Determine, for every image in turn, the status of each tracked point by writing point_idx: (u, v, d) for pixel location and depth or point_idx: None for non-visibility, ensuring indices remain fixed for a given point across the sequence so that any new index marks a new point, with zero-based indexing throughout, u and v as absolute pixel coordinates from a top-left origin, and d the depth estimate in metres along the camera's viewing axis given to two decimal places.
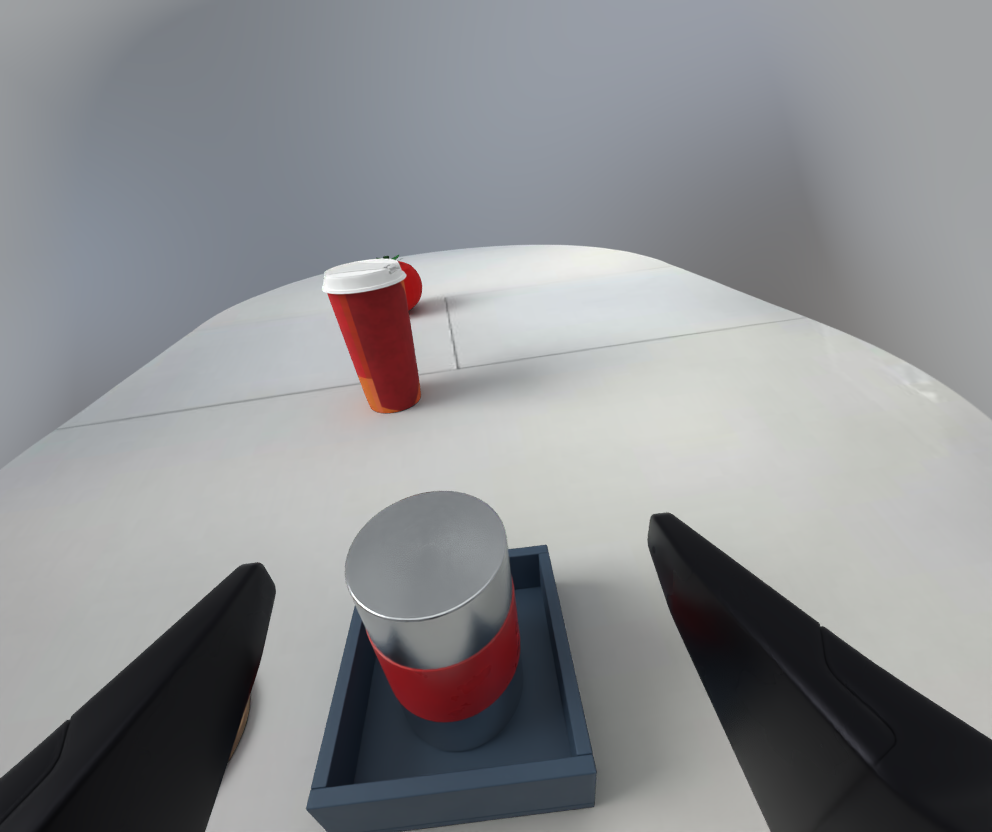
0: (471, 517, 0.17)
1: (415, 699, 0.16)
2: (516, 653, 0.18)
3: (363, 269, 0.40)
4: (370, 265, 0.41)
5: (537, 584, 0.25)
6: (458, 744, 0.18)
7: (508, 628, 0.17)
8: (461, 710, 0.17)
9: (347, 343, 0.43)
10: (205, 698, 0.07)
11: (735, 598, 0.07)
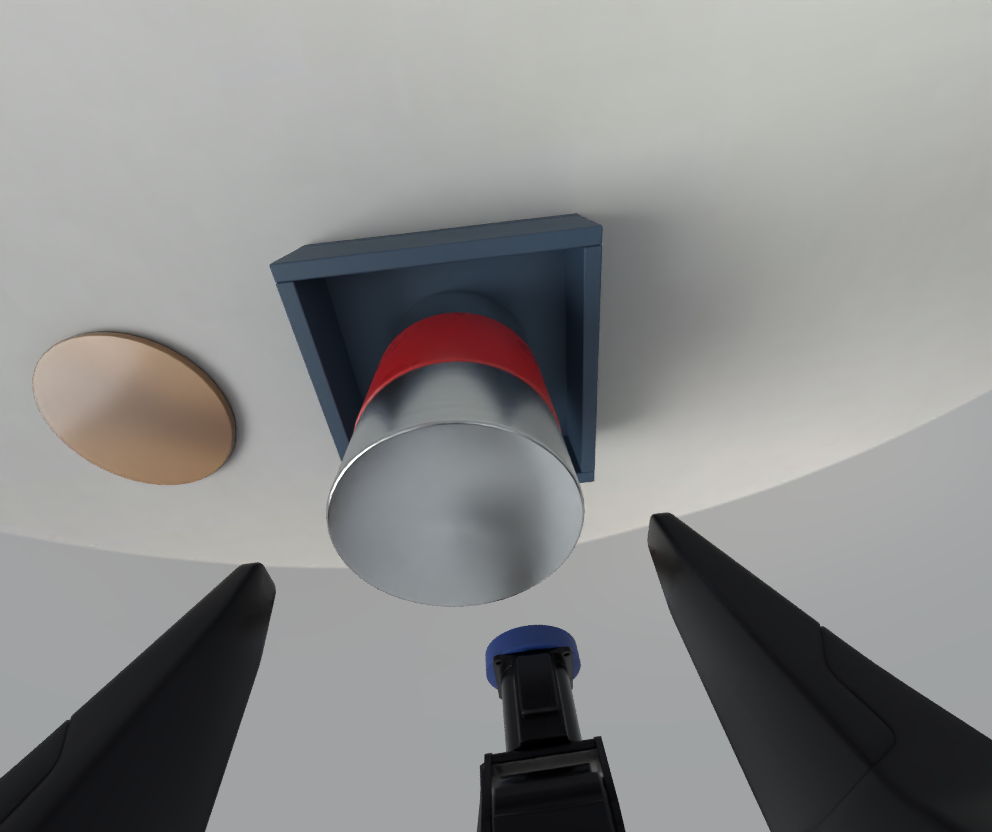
0: (527, 484, 0.10)
1: None
2: None
3: None
4: None
5: None
6: None
7: None
8: None
9: None
10: (205, 698, 0.07)
11: (735, 598, 0.07)
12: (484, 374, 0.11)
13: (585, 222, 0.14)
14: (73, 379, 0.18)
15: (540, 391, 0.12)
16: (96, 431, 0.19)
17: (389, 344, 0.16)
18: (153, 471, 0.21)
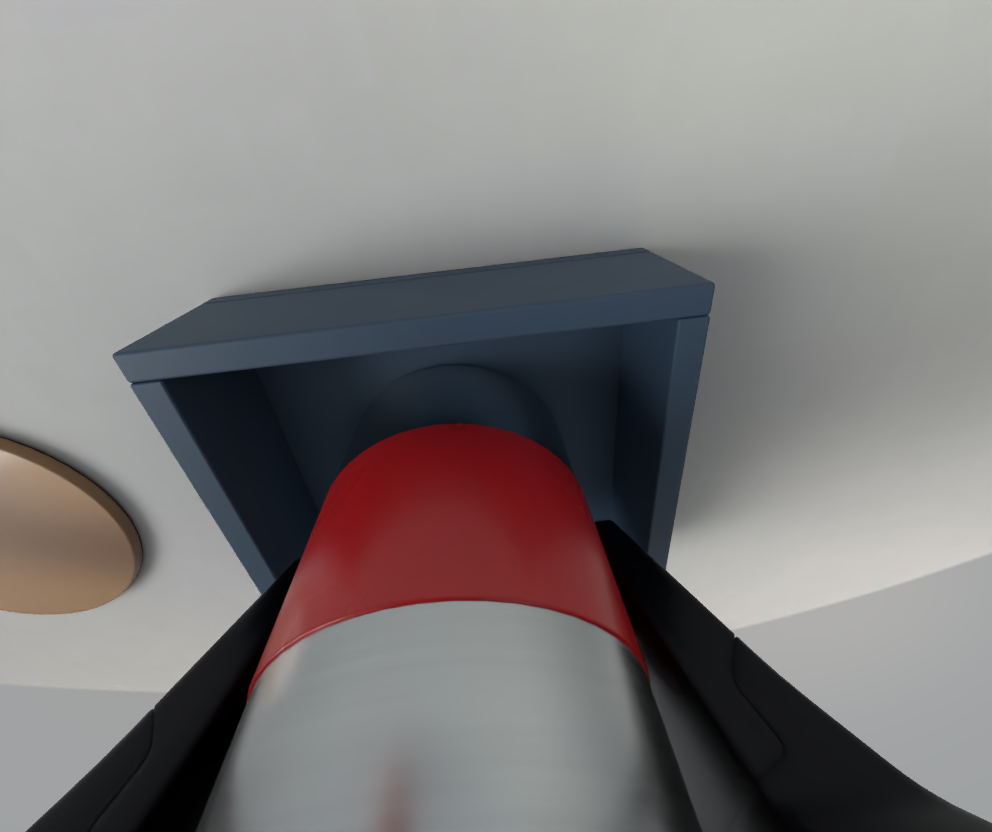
0: None
1: None
2: None
3: None
4: None
5: None
6: None
7: None
8: None
9: None
10: None
11: (656, 608, 0.07)
12: (512, 655, 0.05)
13: (674, 271, 0.08)
14: None
15: (619, 632, 0.06)
16: None
17: (343, 462, 0.10)
18: (28, 599, 0.15)
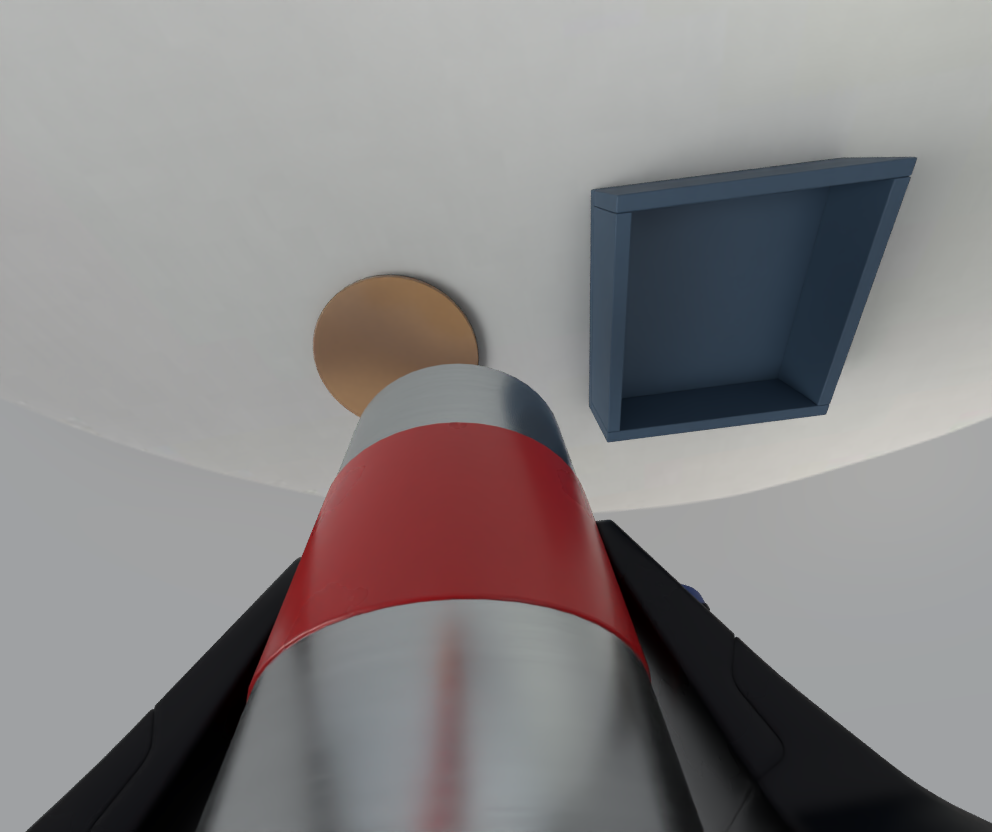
0: None
1: None
2: None
3: None
4: None
5: None
6: None
7: None
8: None
9: None
10: None
11: (656, 608, 0.07)
12: (512, 655, 0.05)
13: (885, 158, 0.16)
14: (353, 320, 0.20)
15: (620, 631, 0.06)
16: (356, 373, 0.21)
17: (344, 461, 0.10)
18: None
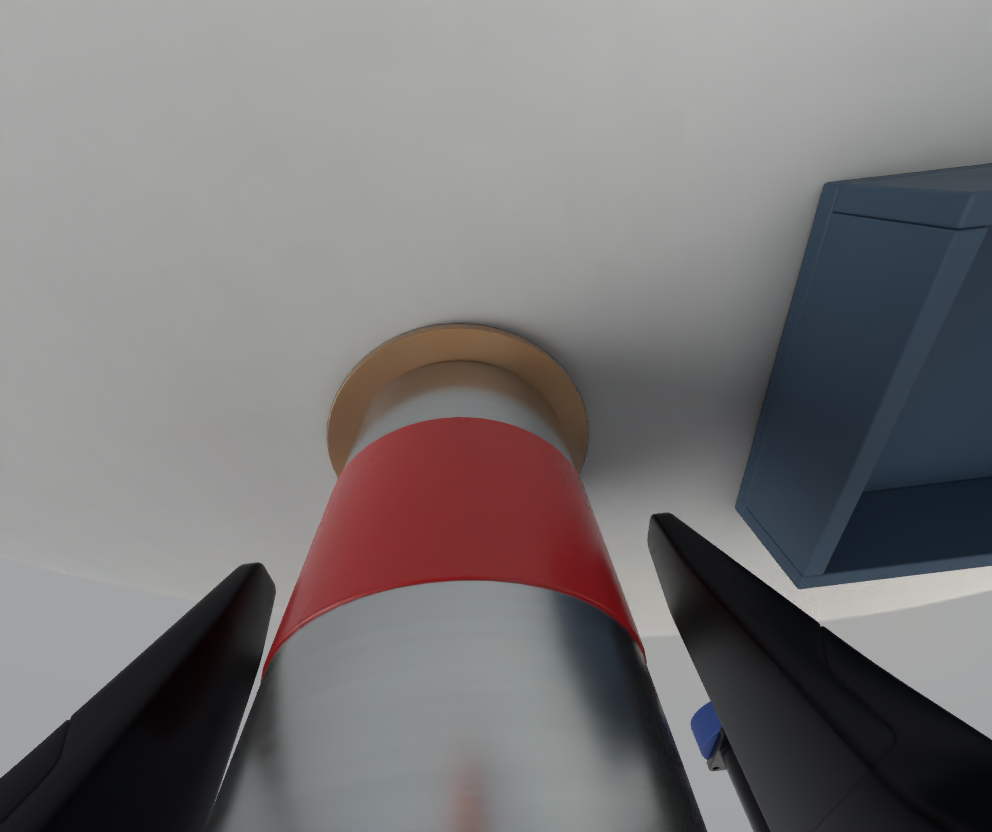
0: None
1: None
2: None
3: None
4: None
5: None
6: None
7: None
8: None
9: None
10: (205, 698, 0.07)
11: (735, 598, 0.07)
12: (514, 629, 0.05)
13: None
14: None
15: (616, 613, 0.06)
16: None
17: (350, 455, 0.10)
18: None
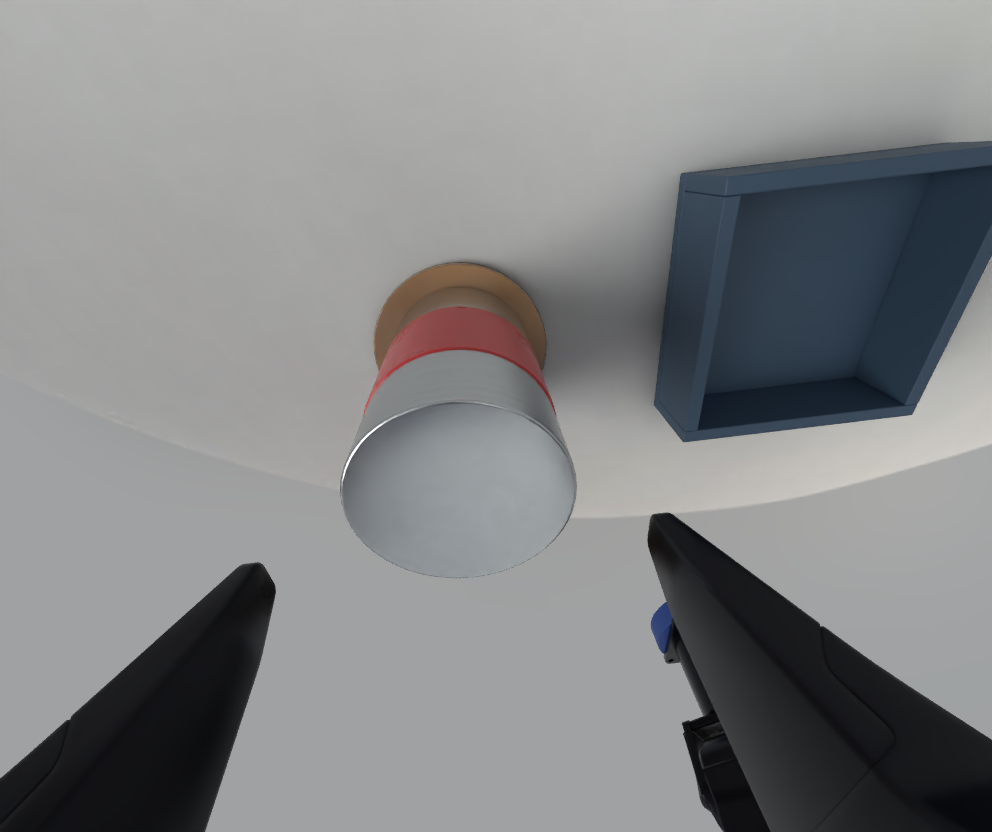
0: (524, 460, 0.10)
1: None
2: None
3: None
4: None
5: None
6: None
7: None
8: None
9: None
10: (205, 698, 0.07)
11: (735, 598, 0.07)
12: (484, 360, 0.12)
13: None
14: None
15: (536, 378, 0.13)
16: None
17: (395, 337, 0.17)
18: None
